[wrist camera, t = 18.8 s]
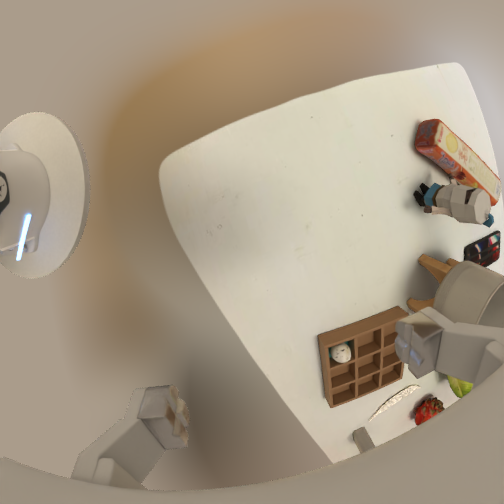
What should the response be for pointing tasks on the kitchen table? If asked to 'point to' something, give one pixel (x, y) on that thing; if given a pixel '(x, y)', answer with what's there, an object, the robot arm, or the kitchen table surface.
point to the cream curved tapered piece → (396, 398)
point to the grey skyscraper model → (363, 440)
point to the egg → (341, 353)
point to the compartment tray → (362, 357)
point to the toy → (456, 202)
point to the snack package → (456, 158)
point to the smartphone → (484, 250)
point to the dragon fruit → (428, 410)
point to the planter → (464, 292)
